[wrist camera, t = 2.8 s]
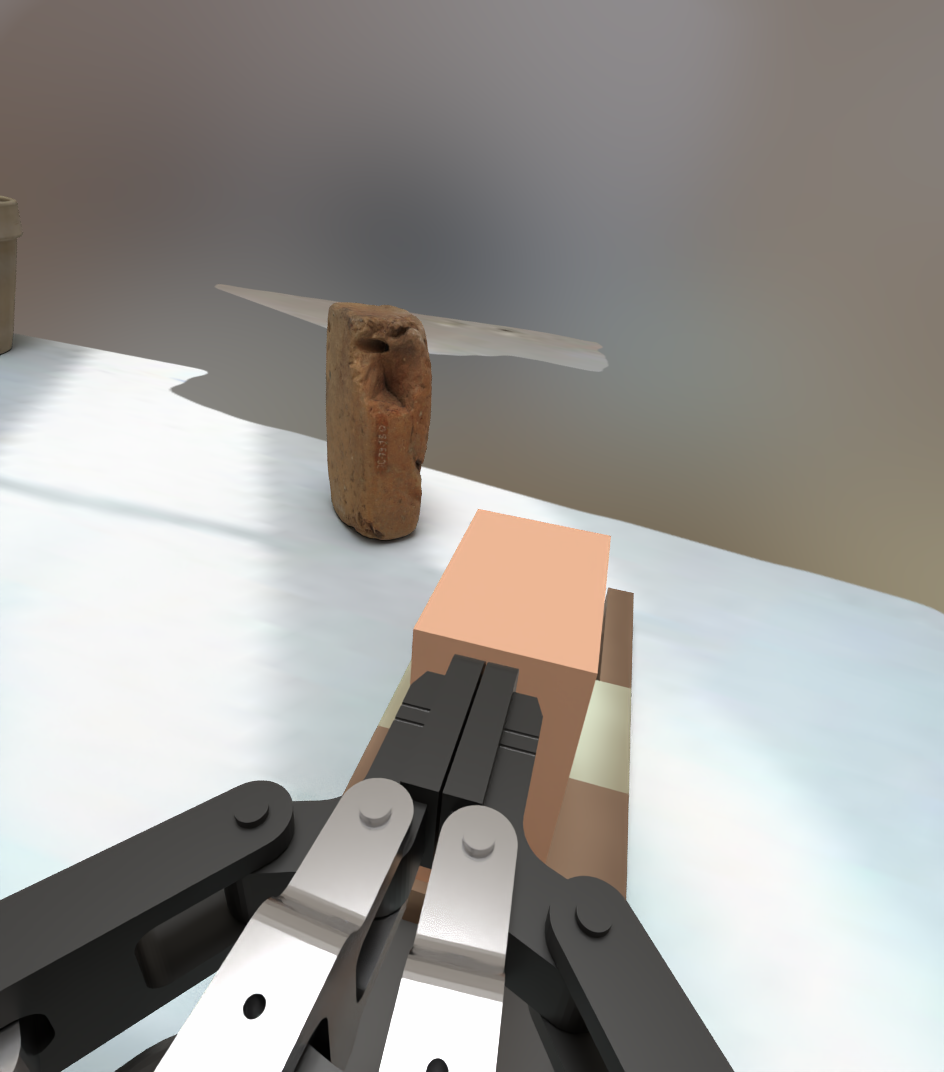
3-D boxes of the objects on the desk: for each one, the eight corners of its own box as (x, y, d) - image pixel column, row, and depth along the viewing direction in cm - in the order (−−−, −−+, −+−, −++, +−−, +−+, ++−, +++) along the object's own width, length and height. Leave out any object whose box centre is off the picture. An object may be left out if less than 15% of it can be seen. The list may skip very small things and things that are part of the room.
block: (324, 499, 62) (317, 295, 52) (392, 490, 65) (398, 297, 55) (356, 552, 54) (356, 324, 44) (432, 539, 57) (447, 323, 47)
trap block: (398, 873, 26) (413, 628, 19) (453, 723, 34) (478, 509, 27) (531, 915, 25) (597, 673, 18) (556, 751, 33) (610, 536, 26)
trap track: (150, 1235, 19) (132, 1208, 17) (460, 585, 51) (464, 556, 50) (590, 1433, 17) (613, 1423, 15) (625, 622, 49) (633, 593, 47)
